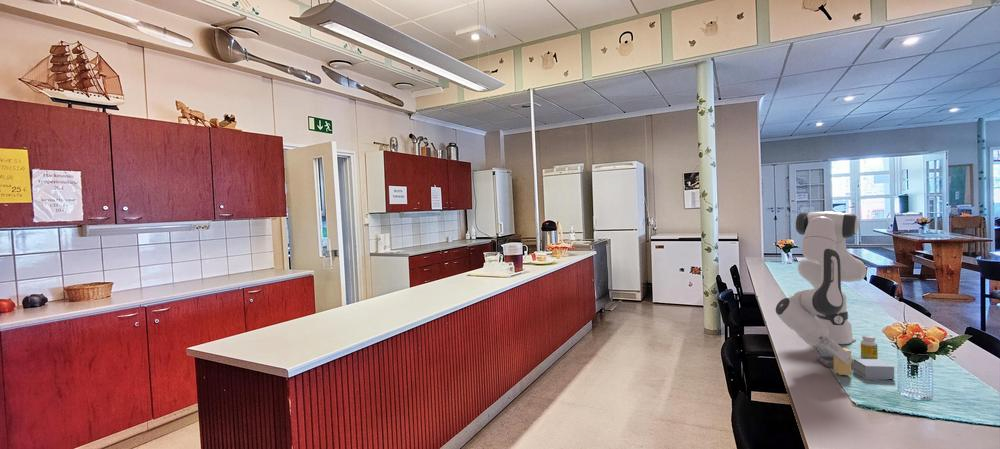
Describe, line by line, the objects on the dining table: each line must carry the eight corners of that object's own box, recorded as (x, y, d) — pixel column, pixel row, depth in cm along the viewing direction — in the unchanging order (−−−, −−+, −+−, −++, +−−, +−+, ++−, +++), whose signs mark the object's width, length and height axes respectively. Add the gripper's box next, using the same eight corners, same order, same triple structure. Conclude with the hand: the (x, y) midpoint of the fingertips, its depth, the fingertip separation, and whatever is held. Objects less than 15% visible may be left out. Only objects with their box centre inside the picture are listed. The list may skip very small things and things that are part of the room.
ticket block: (853, 371, 173) (853, 358, 173) (880, 372, 171) (880, 359, 171) (865, 379, 166) (865, 365, 165) (894, 380, 164) (894, 366, 164)
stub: (833, 370, 173) (832, 347, 173) (845, 371, 172) (845, 347, 172) (838, 374, 169) (838, 350, 169) (851, 374, 168) (851, 351, 168)
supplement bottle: (863, 356, 189) (863, 333, 189) (879, 359, 185) (879, 336, 184) (858, 359, 186) (858, 336, 186) (874, 362, 182) (874, 339, 181)
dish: (817, 360, 187) (816, 355, 187) (840, 360, 185) (840, 356, 185) (827, 367, 178) (827, 362, 178) (852, 368, 177) (852, 363, 177)
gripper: (835, 336, 161) (867, 363, 160) (808, 321, 181) (836, 346, 180) (821, 348, 162) (852, 375, 161) (796, 332, 182) (824, 357, 181)
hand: (844, 360), depth 170 cm, fingers closed on stub, 4 cm apart
